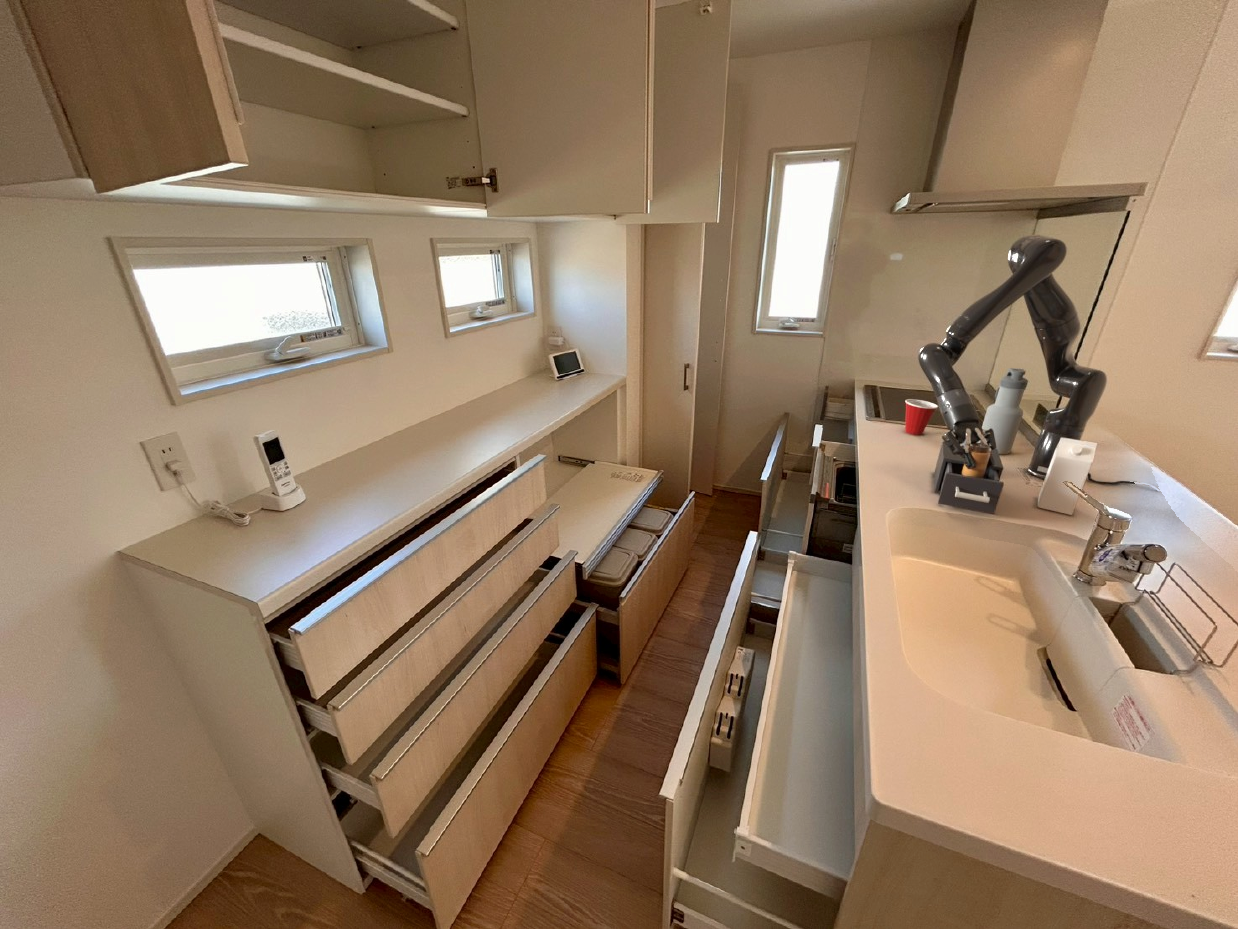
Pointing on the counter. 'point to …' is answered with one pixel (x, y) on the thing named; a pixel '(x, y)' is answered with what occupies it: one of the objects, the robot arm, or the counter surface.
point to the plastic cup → (918, 415)
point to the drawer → (970, 489)
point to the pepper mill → (978, 460)
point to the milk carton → (1066, 475)
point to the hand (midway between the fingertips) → (981, 467)
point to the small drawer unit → (947, 456)
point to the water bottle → (1006, 410)
